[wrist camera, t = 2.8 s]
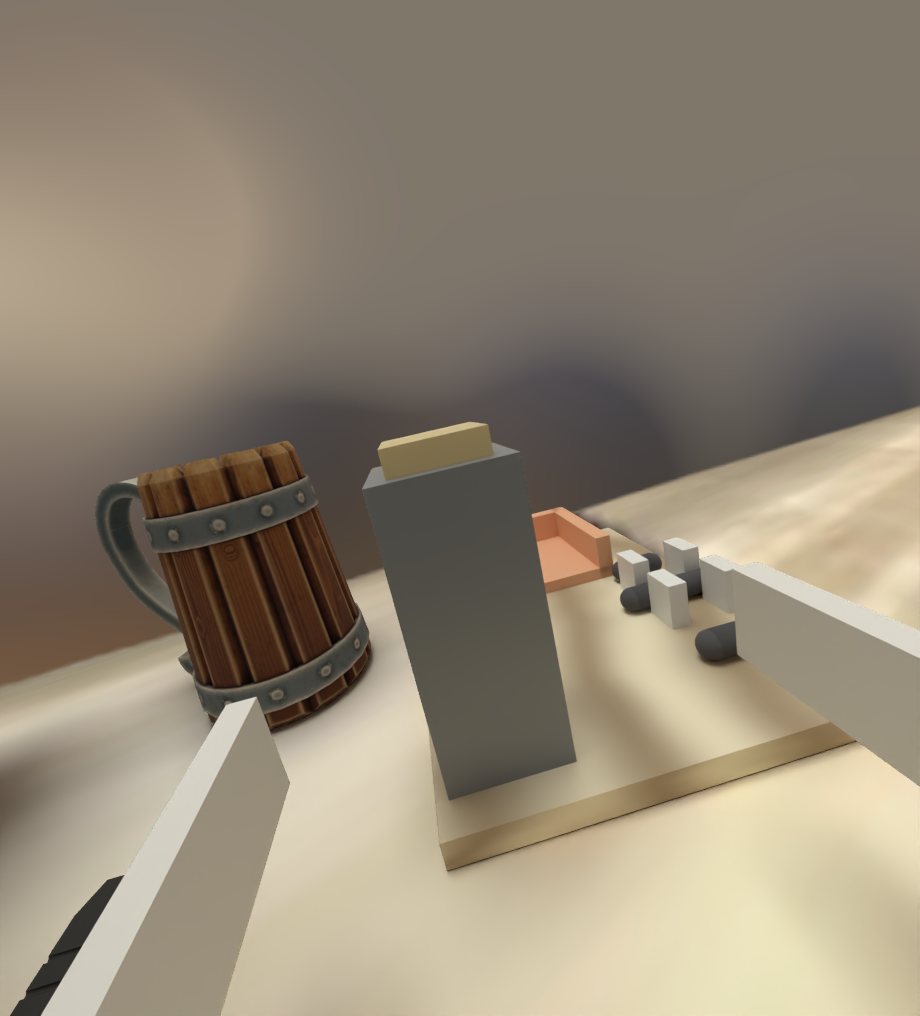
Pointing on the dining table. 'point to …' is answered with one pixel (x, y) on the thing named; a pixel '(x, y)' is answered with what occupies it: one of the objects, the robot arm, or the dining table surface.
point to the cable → (708, 641)
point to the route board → (634, 724)
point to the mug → (242, 579)
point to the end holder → (570, 549)
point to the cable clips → (678, 580)
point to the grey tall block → (471, 604)
